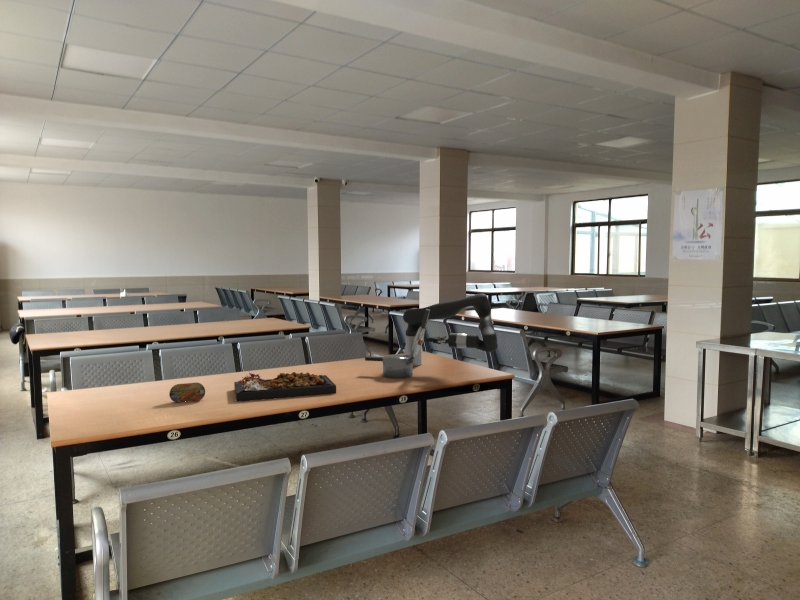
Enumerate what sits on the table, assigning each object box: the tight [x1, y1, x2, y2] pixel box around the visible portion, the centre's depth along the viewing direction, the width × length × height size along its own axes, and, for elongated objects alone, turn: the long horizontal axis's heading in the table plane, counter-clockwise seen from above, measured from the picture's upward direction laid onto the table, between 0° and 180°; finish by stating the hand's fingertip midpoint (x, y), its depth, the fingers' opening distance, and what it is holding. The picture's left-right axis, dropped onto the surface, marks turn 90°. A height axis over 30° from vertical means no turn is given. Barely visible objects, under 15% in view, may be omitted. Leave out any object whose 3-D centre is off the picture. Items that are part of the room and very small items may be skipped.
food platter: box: [233, 369, 337, 403], centre depth 274 cm, size 45×25×10 cm, turn 108°
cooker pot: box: [364, 353, 415, 380], centre depth 310 cm, size 27×16×10 cm, turn 73°
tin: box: [169, 382, 206, 403], centre depth 257 cm, size 15×3×8 cm, turn 106°
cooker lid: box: [411, 309, 430, 359], centre depth 303 cm, size 27×17×3 cm
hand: (425, 339), depth 303 cm, fingers closed
